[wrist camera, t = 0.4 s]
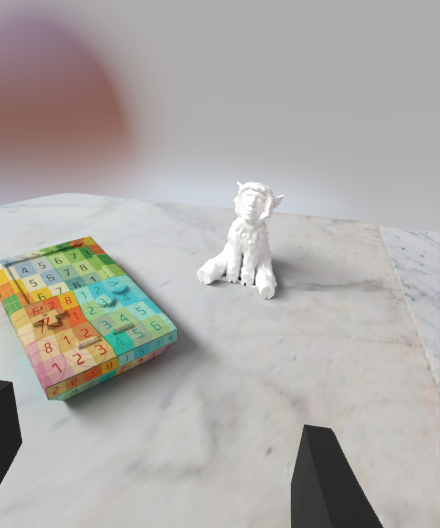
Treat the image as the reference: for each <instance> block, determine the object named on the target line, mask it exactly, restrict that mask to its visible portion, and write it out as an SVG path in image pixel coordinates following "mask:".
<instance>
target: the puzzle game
mask: <svg viewBox="0 0 440 528" xmlns="http://www.w3.org/2000/svg"><path fill="white" fill-rule="evenodd" d="M0 301H1V303H2V305H3V307H4V309H5V311H6V313H7V316H8V318H9V320H10V322H11V324H12V326H13V328H14V330H15V332H16V334H17V336H18V338H19V340H20V342H21V344H22V347H23V349H24V351H25V353H26V355H27V357H28V359H29V361H30V363H31V365H32V367H33V369H34V371H35V373H36V376H37V378H38V380H39V382H40V384H41V386H42V388H43V390H44V392H45V394H46V396H47V398H48V400H62V401H64V400H66V399H68V398H70V397H73V396H75V395H77V394H79V393H81V392H83V391H85V390H87V389H89V388H91V387H94V386H96V385H98V384H100V383H102V382H104V381H106V380H108V379H110V378H112V377H115V376H117V375H119V374H121V373H123V372H125V371H127V370H129V369H131V368H133V367H136V366H138V365H140V364H142V363H144V362H146V361H148V360H150V359H152V358H155V357H157V356H159V355H160V354H161V353H163V352H164V351H165V350H166V349H167V348H168V347H169V346H170V345H171V344H172V343H174V342H175V341H176V340H178V329H177V328H176V327H175V325H174V324H173V323H172V321H171V320H170V319H169V318H168V317H167V316H166V315H165V314H164V313H163V312H162V311H161V310H160V309H159V308H158V307H157V306H156V305H155V304H154V303H153V302H152V301H151V300H150V299H149V297H148V296H147V295H146V294H145V293H144V292H143V291H142V290H141V289H140V288H139V287H138V286H137V285H136V284H135V283H134V282H133V281H132V280H131V279H130V278H129V277H128V276H127V275H126V273H125V272H124V271H123V270H122V269H121V268H120V267H119V266H118V265H117V264H116V263H115V262H114V261H113V260H112V259H111V258H110V257H109V256H108V255H107V254H106V253H105V252H104V250H103V249H102V248H101V247H100V246H99V245H98V244H97V243H96V242H95V241H94V240H93V239H92V238H91V237H90V236H89V237H85V238H81V239H77V240H74V241H70V242H66V243H63V244H59V245H55V246H51V247H48V248H44V249H40V250H37V251H33V252H29V253H25V254H22V255H18V256H14V257H10V258H7V259H3V260H0Z"/></svg>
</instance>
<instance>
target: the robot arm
mask: <svg viewBox="0 0 440 528" xmlns="http://www.w3.org/2000/svg"><path fill="white" fill-rule="evenodd" d="M21 444H22V438H21V432H20V426H19V420H18V413H17V407H16V401H15V395H14V389H13V383H12V382H9V381H2V380H0V484H1V482H2V480H3V478H4V477H5V475H6V473H7V471H8V469H9V467H10V466H11V464H12V462H13V460H14V458H15V456H16V454H17V452H18V450H19V448H20V446H21ZM291 528H383V526H382V524H381V523H380V521H379V519H378V517H377V515H376V514H375V512H374V510H373V508H372V507H371V505H370V503H369V501H368V500H367V498H366V496H365V494H364V492H363V490H362V488H361V487H360V485H359V483H358V481H357V479H356V477H355V475H354V473H353V471H352V469H351V467H350V465H349V463H348V461H347V459H346V457H345V455H344V453H343V451H342V449H341V447H340V445H339V442H338V440H337V438H336V436H335V434H334V432H333V431H332V430H331V428H325V427H318V426H311V425H304V428H303V433H302V437H301V442H300V446H299V451H298V455H297V459H296V464H295V468H294V473H293V477H292V482H291Z"/></svg>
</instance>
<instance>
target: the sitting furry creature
mask: <svg viewBox="0 0 440 528" xmlns="http://www.w3.org/2000/svg"><path fill="white" fill-rule="evenodd" d="M237 184H238V186H239V192H238V196H237V197H236V198H235V200H234V202H235V203H236V209H235V212H236V213H237V215H238V216H239V217H238V218H237V219H236V220H235V221H234V222H233V225H232V226H231V228H230V232H229V235H228V238H227V239H228V241H229V242H228V244H226V245H225V249H224V251H223V252H222V253H221V254H220V255H218V256H216V257H215V258H213V259H209V260H208V261H207V262H206V263H205V265H204V266H203V267H201V268H200V269H199V270H198V272H197V275H198V278H199V280H200V281H201V282H204V284H210V283H212V282H213V281H216V280H220V281H226V282H229V283H230V282H231V281H233V283H236V282H240V283H241V284H242V285H243V286H244V284H245V283H246V287H252V288H257V289H259V292H260V294H261V297H262V298H263V299H266V298H267V299H270V298H271V297H272V296H273V295H274V293H275V287H276V285H277V283H276V280H275V278H276V277H275V276H274V273H273V271H272V264H271V261H272V257H271V255H270V253H271V252H270V250H269V245H268V238H267V236H268V232H267V226H266V225H265V222H264V220H265V219H267V218H269V217H270V216H271V214H272V211H273V209H274V208H276V207H277V206H278V205H279V203H280V202H281V200H282V199H283V197H284V196H285V195H280V196H276V197H273V192H272V190H271V189H270V188H269V187H268V186H266V185H264V184H261V183H255V182H250V183H249V182H247V183H246V184H245V185H243V184H242V183H240V182H237ZM240 273H241V274H240ZM224 275H226V276H224ZM240 275H241V280H238V277H239V276H240ZM254 279H255V281H256V282H254ZM253 284H256V286H255V285H253Z"/></svg>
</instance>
